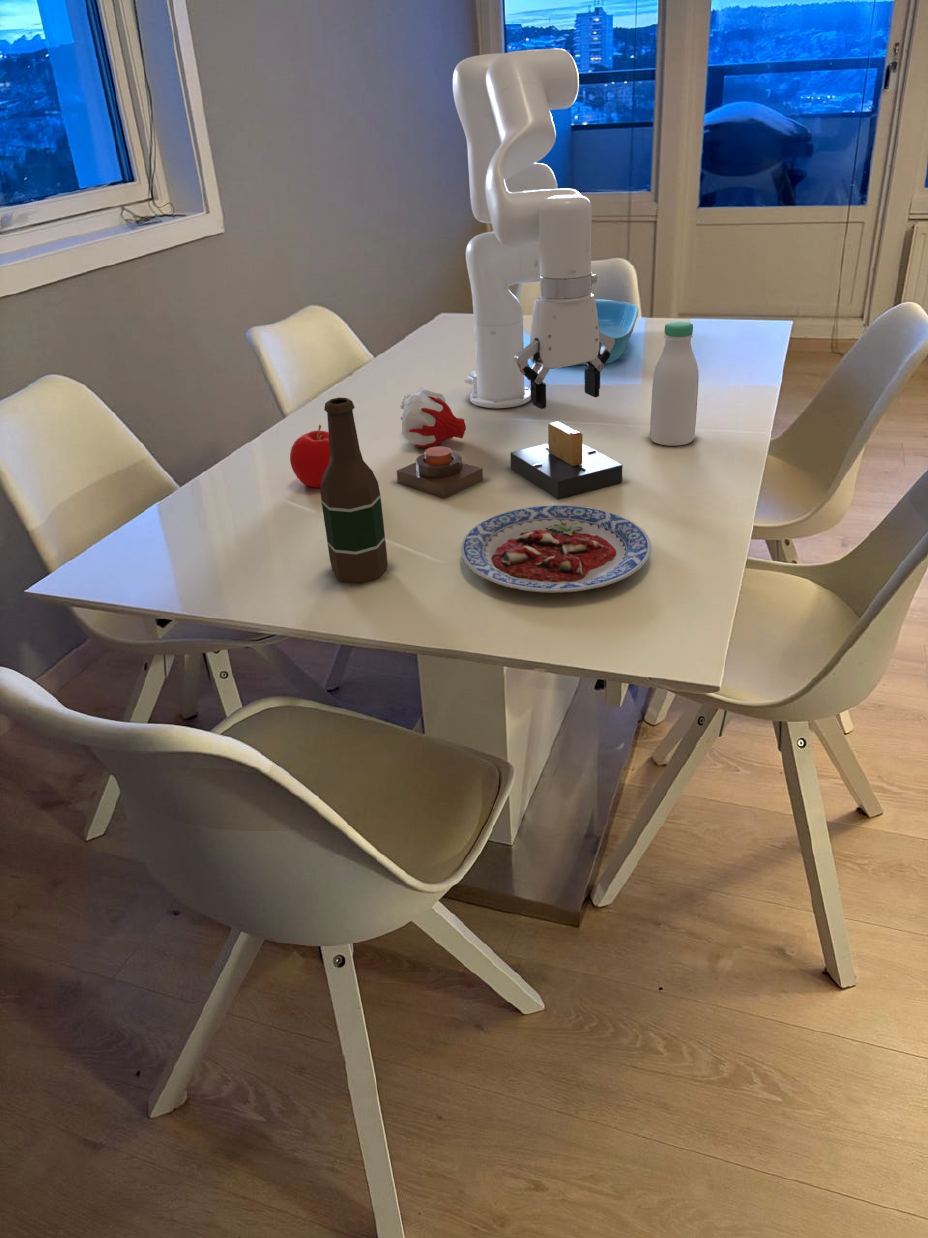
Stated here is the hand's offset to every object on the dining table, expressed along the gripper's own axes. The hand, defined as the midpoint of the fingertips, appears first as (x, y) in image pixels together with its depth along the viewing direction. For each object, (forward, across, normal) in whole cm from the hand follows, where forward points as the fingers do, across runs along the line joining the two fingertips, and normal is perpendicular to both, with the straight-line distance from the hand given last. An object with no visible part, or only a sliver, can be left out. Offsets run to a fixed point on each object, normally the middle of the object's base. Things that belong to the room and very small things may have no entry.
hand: (565, 400), depth 147 cm
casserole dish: (+12, -45, -62) cm, 78 cm away
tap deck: (+13, 0, 0) cm, 13 cm away
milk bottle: (+13, -24, -4) cm, 28 cm away
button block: (+13, +18, -10) cm, 24 cm away
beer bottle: (+13, +41, +12) cm, 45 cm away
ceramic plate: (+13, +17, +24) cm, 32 cm away
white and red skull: (+12, +12, -27) cm, 32 cm away
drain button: (+9, +18, -10) cm, 23 cm away
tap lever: (+10, 0, 0) cm, 10 cm away
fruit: (+13, +35, -21) cm, 43 cm away
